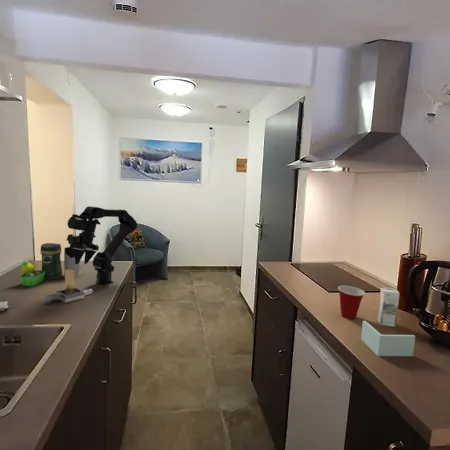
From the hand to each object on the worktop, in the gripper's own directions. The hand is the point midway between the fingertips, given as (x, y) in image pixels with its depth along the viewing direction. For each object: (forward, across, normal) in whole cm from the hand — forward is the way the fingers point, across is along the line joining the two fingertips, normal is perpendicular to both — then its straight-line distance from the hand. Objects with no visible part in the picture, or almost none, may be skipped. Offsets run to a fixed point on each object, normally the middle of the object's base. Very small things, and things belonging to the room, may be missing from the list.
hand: (81, 263), depth 164 cm
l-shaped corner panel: (+5, +38, +129) cm, 135 cm away
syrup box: (-1, +18, +137) cm, 138 cm away
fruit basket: (+15, -8, -26) cm, 31 cm away
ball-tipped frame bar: (+15, +9, +3) cm, 18 cm away
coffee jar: (+12, -18, -22) cm, 31 cm away
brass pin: (+15, +9, +3) cm, 18 cm away
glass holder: (+8, -27, -13) cm, 31 cm away
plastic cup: (-1, +12, +124) cm, 125 cm away
